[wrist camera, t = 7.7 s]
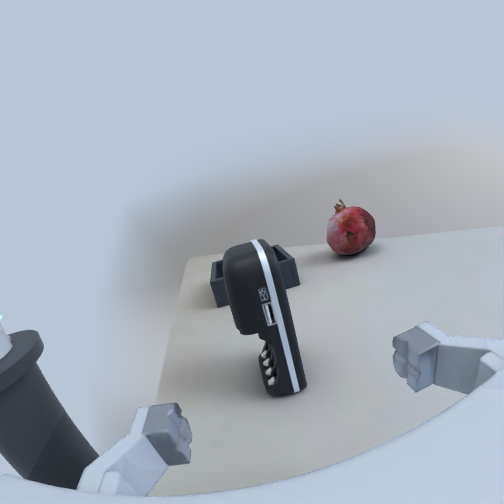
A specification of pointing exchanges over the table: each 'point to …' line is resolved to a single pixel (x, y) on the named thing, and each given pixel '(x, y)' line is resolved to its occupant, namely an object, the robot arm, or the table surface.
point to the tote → (286, 269)
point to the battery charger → (264, 313)
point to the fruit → (350, 230)
